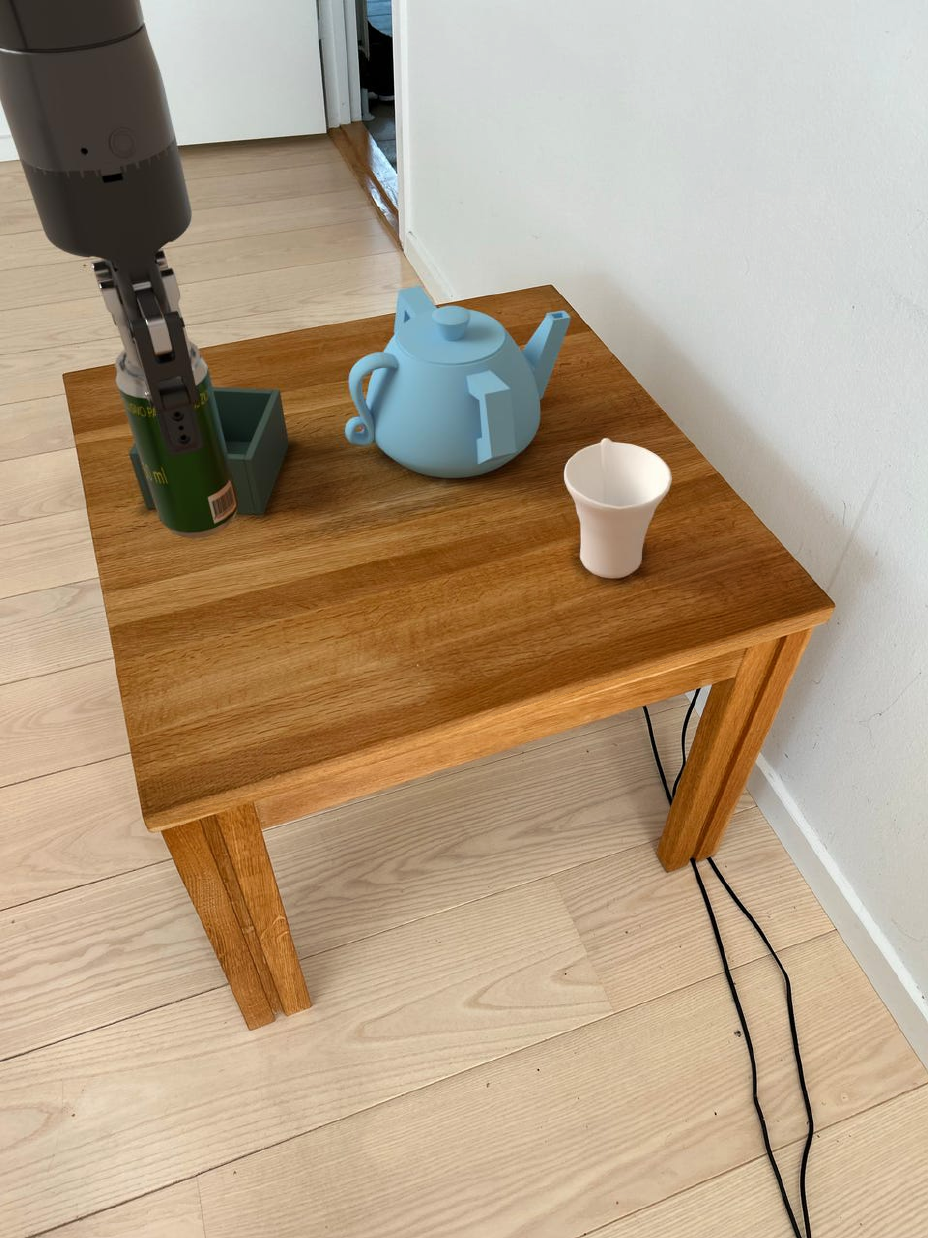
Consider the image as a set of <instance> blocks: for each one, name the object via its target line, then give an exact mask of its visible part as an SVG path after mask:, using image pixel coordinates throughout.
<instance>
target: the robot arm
mask: <svg viewBox="0 0 928 1238" xmlns="http://www.w3.org/2000/svg"><path fill="white" fill-rule="evenodd" d="M167 97H168V96H167V93H166V88H165V84H164V80H163V77H162V72H161V69H160V65H159V63H158V60H157V57H156V54H155V51H154V48H153V45H152V42H151V40H150V37H149V33H148V29H147V26H146V23H145V17H144V12H143V7H142V3H141V0H0V104H1V107H2V110H3V114H4V116H5V120H6V122H7V125H8V128H9V131H10V134H11V137H12V140H13V144H14V146H15V149H16V152H17V155H18V158H19V160H20V164H21V167H22V169H23V173H24V175H25V179H26V182H27V185H28V187H29V191H30V194H31V196H32V199H33V202H34V205H35V208H36V211H37V214H38V217H39V220H40V224H41V226H42V229H43V232H44V234H45V236H46V238H47V239H48V241H49V242H50V243H51V245H53V246H54V247H55V248H57V249H59V250H61V251H62V252H64V253H68V254H70V255H73V256H77V257H81V258H87V259H89V258H91V257H93V258H98V259H97V260H91V261H90V264H91V267H92V271H93V273H94V277H95V280H96V282H97V286H98V289H99V291H100V294H101V296H102V299H103V302H104V305H105V307H106V308H105V309H106V310H107V311H108V312H109V313H110V315H111V317H112V320H113V324H114V325H115V326H116V327H117V331H118V334H119V336H120V339H121V343H122V346H123V350H125V353H126V356H127V358H128V360H129V362H130V363H131V364H132V365H134V366H138V367H139V368H140V370H141V373H142V376H143V379H144V383H145V386H146V389H147V392H145V394H146V397H147V400H148V401H149V403H150V406H151V408H153V407H154V410H155V414H156V417H157V421H158V424H159V427H160V431H161V434H162V438H163V441H164V445H165V447H166V450H167V452H168V454H170V455H171V456H178V455H182V454H186V453H190V452H194V451H198V450H200V449H201V448H202V447H203V445H204V442H203V438H202V434H201V430H200V426H199V422H198V418H197V414H196V410H195V407H194V404H198V403H199V396H200V393H199V390H198V387H197V388H196V384H195V379H194V375H193V370H192V366H191V361H190V357H189V352H190V343H189V341H190V340H189V336H188V334H187V329H186V325H185V321H184V318H183V315H182V312H181V308H180V305H179V301H180V299H181V292H180V288H179V285H178V280H177V278H176V274H175V271H174V269H173V267H172V266H170V267H169V265H168V261H167V260H168V259H167V256H166V254H165V251H164V248H163V247H164V246H166V245H167V244H169V243H173V242H174V241H176V240H178V239H179V238H180V237H181V236H182V235H183V234H184V233H185V232H186V231H187V229H188V228H189V227H190V224H191V221H192V218H193V217H192V214H193V212H192V207H191V201H190V198H189V194H188V188H187V184H186V179H185V175H184V170H183V166H182V161H181V157H180V152H179V147H178V143H177V138H176V135H175V134H176V133H175V129H174V125H173V124H174V123H173V120H172V115H171V111H170V106H169V101H168V98H167ZM134 344H136V346H135V345H134ZM175 377H178V378H175ZM170 378H174V379H170ZM166 379H170V380H166ZM162 380H165V381H162ZM160 381H161V382H160Z"/></svg>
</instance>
